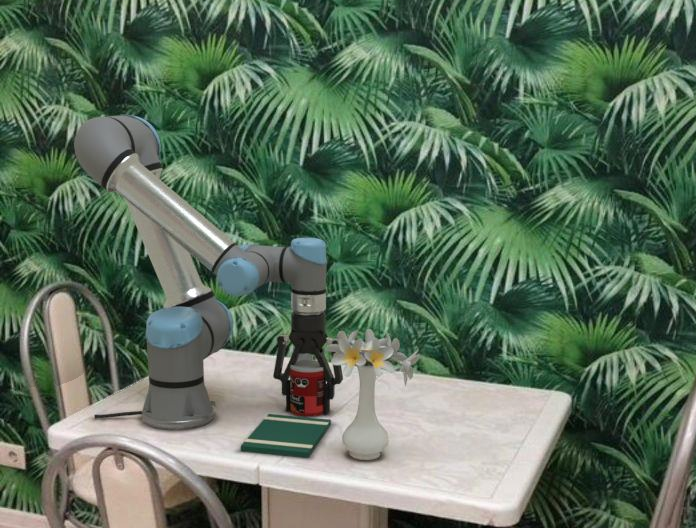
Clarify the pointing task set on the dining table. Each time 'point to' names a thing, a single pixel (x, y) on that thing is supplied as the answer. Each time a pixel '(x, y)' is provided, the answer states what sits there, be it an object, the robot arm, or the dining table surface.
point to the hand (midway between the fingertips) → (307, 410)
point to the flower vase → (368, 387)
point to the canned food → (307, 388)
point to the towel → (286, 435)
